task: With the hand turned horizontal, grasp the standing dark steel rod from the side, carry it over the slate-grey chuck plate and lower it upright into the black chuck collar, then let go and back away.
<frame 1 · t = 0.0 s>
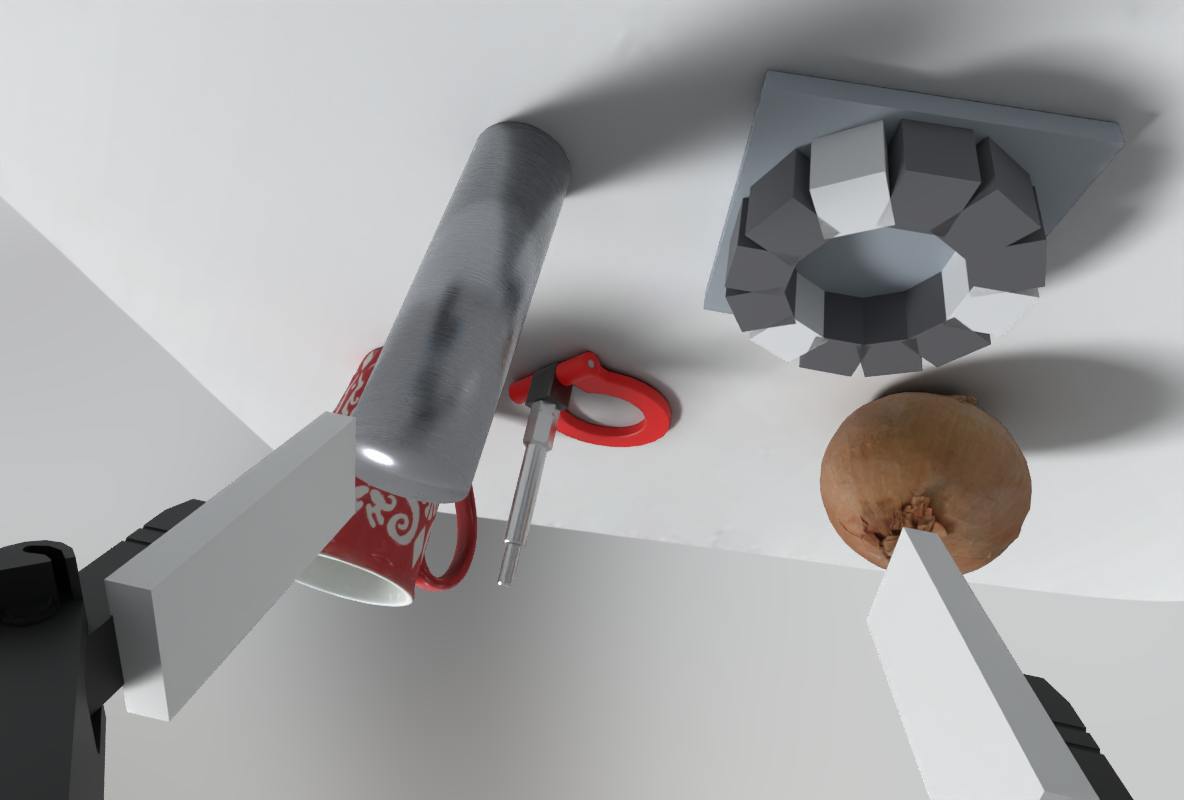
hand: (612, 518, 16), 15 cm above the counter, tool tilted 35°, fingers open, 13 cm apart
mug: (437, 391, 45), on the counter
steel rod: (522, 166, 27), on the counter
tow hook: (600, 397, 41), on the counter
chuck: (871, 224, 26), on the counter
onion: (914, 409, 36), on the counter
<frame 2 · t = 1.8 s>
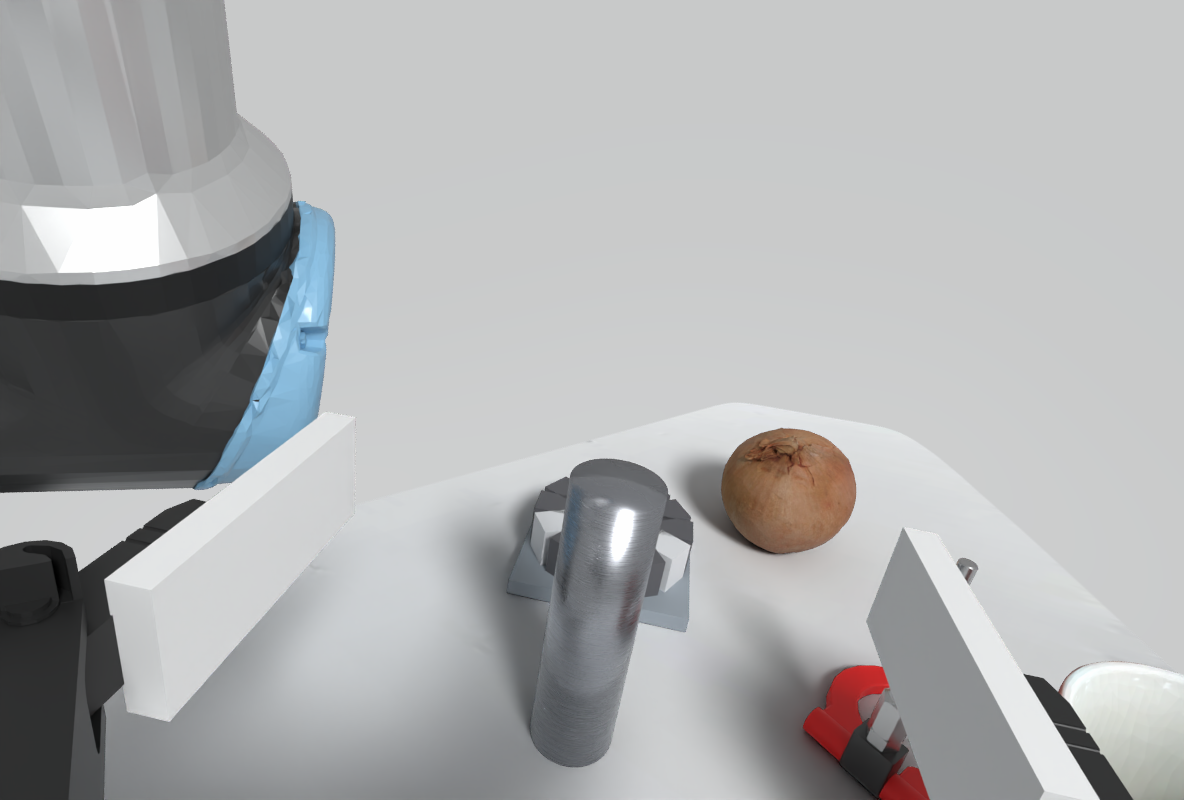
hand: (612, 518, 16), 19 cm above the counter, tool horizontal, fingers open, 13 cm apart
steel rod: (571, 729, 32), on the counter
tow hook: (899, 744, 35), on the counter
chuck: (606, 557, 45), on the counter
onion: (771, 539, 51), on the counter
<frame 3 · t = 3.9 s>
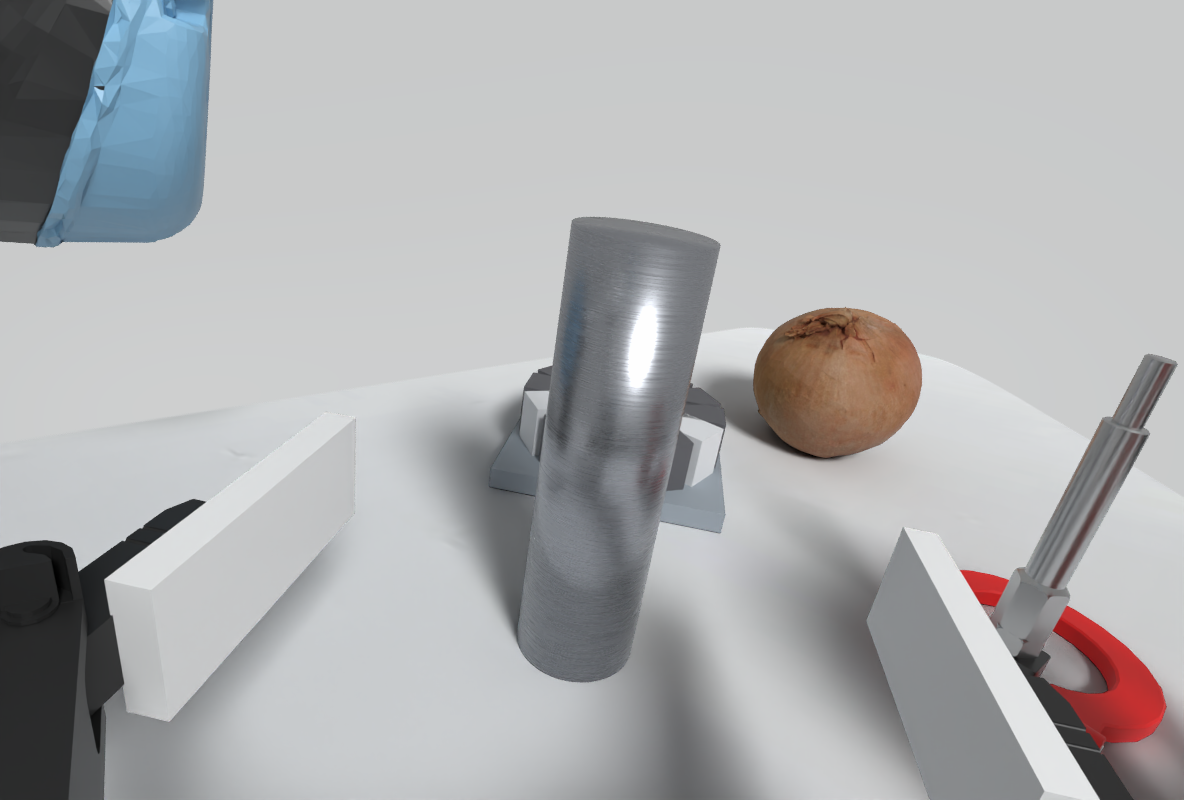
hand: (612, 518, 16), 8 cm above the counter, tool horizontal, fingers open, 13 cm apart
steel rod: (574, 637, 23), on the counter
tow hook: (1016, 663, 26), on the counter
chuck: (615, 456, 36), on the counter
onion: (813, 446, 42), on the counter
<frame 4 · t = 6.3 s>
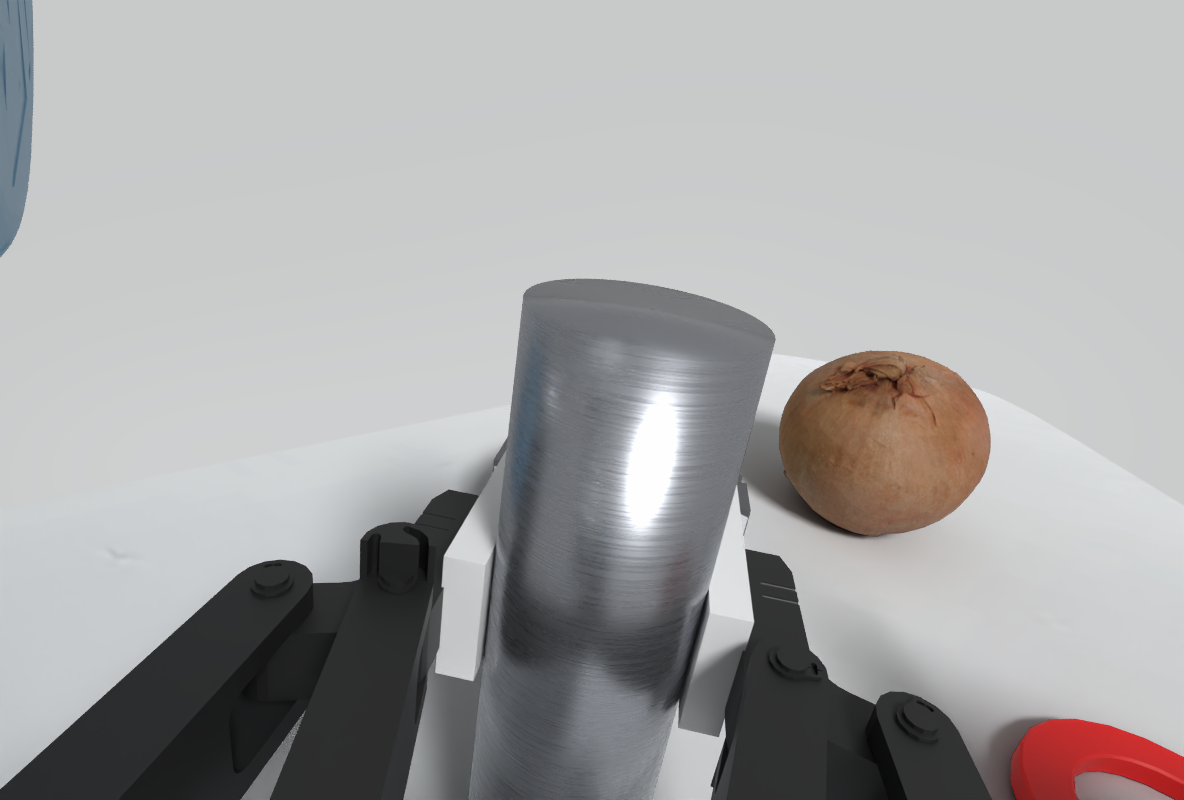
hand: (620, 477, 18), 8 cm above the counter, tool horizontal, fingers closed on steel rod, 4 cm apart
chuck: (609, 541, 29), on the counter
onion: (851, 516, 35), on the counter
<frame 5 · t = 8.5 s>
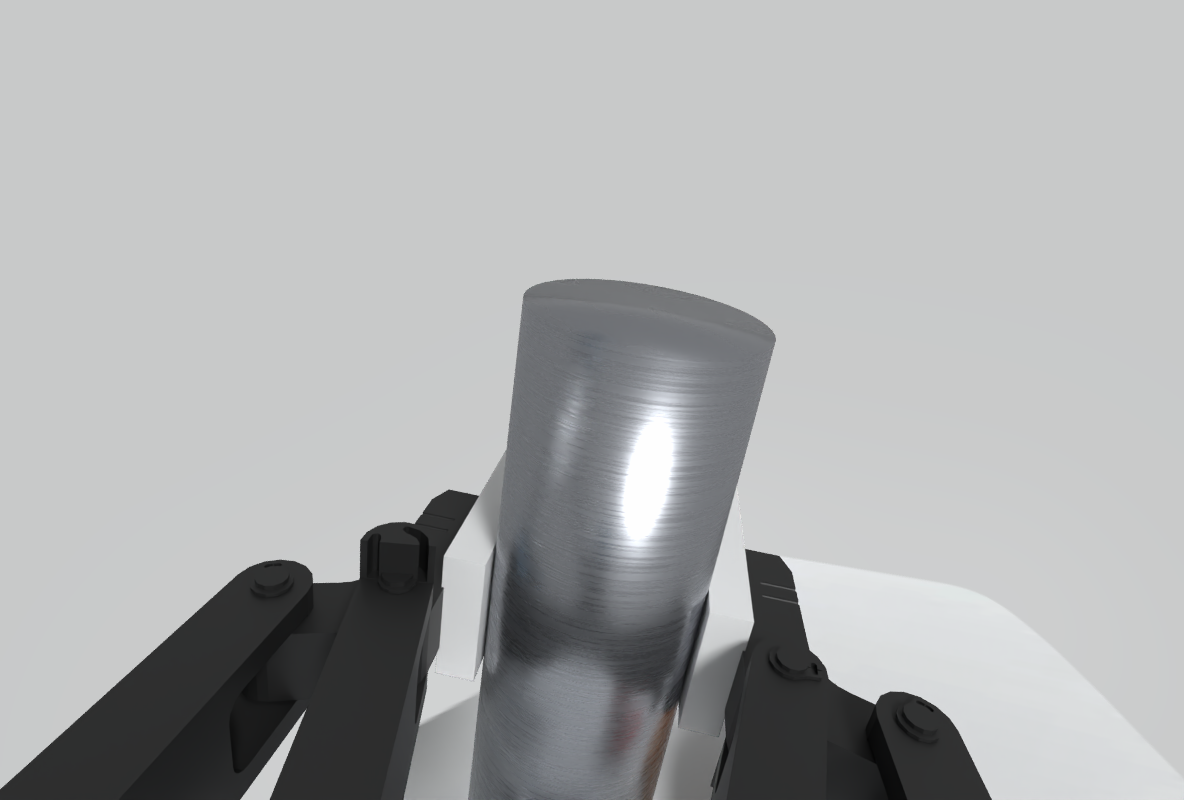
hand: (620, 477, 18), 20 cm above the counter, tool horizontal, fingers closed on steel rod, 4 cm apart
when the fingers open (9 cm above the counter, at t = 11.2 s): steel rod stays where it is, resting on chuck.
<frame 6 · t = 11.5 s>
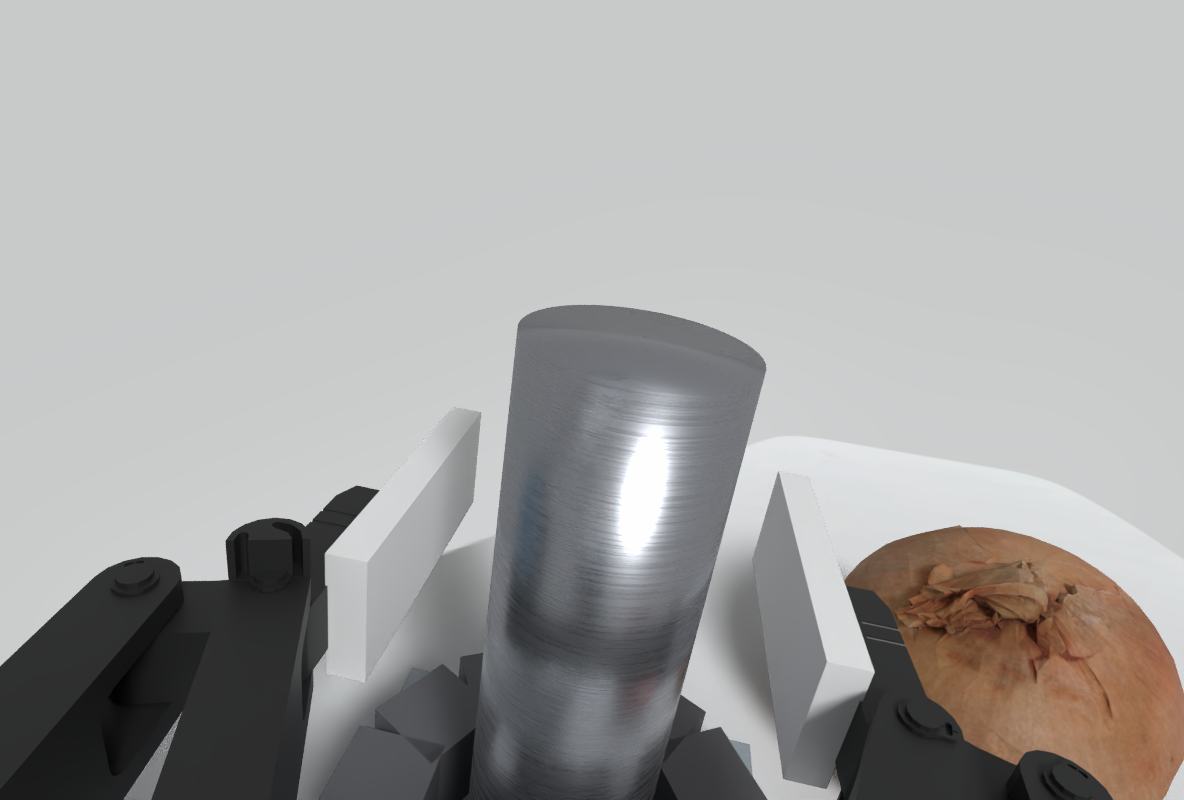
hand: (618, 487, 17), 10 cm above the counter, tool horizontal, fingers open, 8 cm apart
onion: (930, 777, 22), on the counter
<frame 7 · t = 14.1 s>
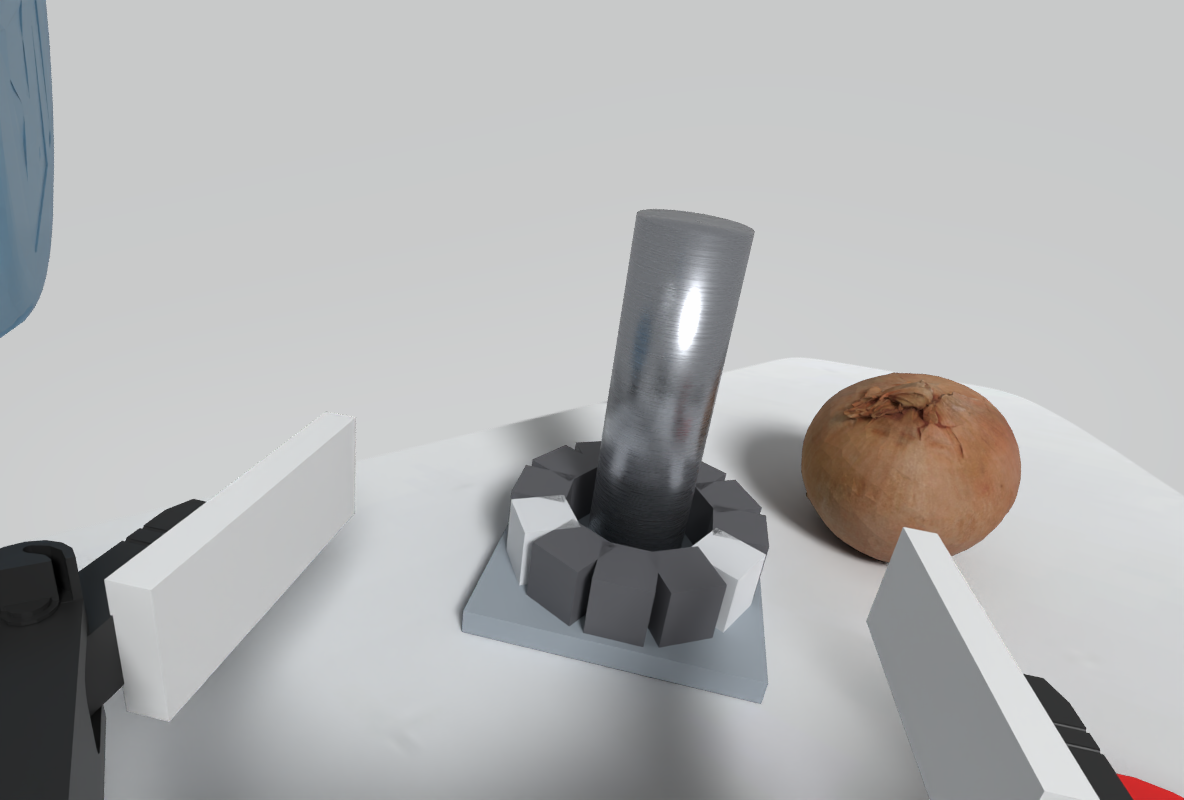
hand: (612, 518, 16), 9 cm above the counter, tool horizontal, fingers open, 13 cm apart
steel rod: (631, 552, 28), point 1 cm above the counter, touching chuck
chuck: (627, 570, 29), on the counter
onion: (874, 540, 34), on the counter
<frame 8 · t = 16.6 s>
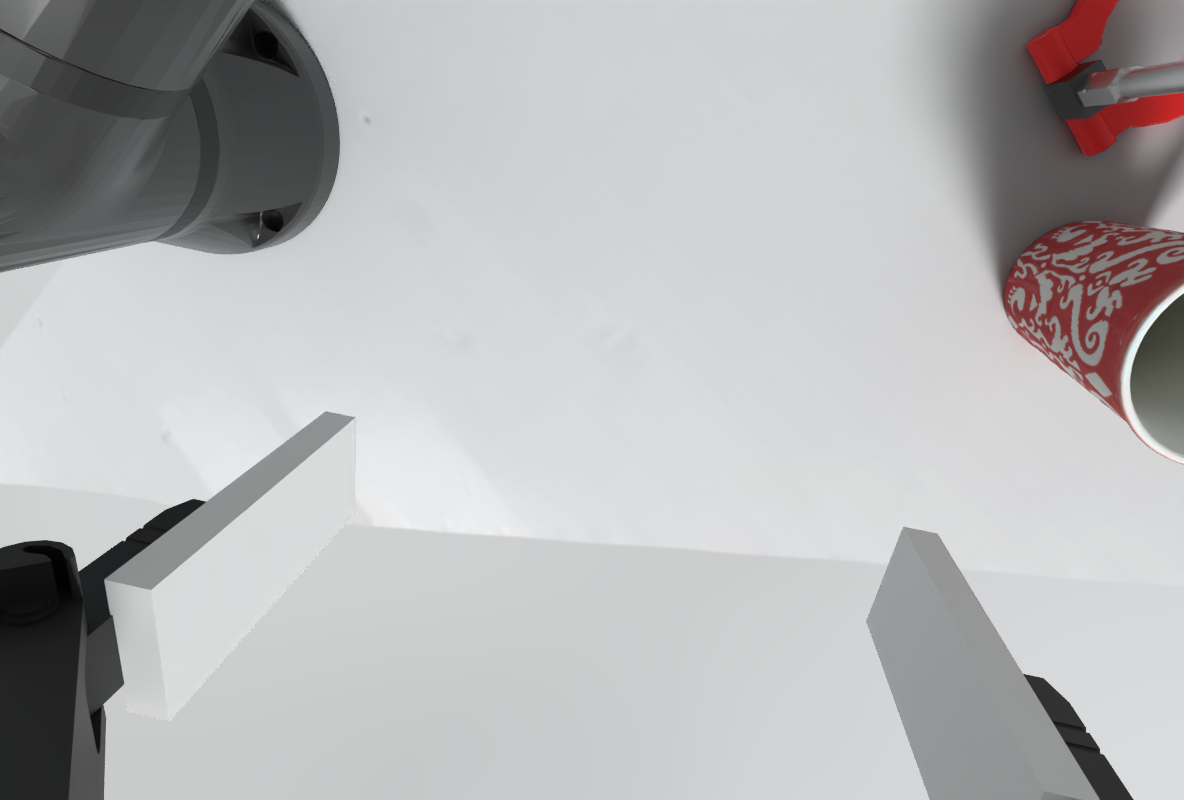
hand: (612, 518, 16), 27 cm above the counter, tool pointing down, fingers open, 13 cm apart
mug: (1103, 271, 37), on the counter
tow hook: (1139, 40, 33), on the counter
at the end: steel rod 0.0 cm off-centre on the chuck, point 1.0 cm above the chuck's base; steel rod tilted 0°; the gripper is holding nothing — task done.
